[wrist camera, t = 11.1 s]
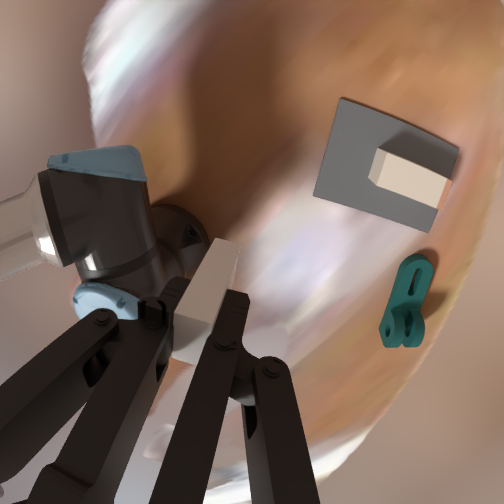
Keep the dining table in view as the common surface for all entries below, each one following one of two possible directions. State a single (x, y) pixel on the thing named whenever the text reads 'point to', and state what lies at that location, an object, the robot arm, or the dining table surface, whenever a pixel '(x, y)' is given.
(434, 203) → the cream block
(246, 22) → the dining table surface
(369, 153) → the slate mat
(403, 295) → the bracket
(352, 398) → the dining table surface
